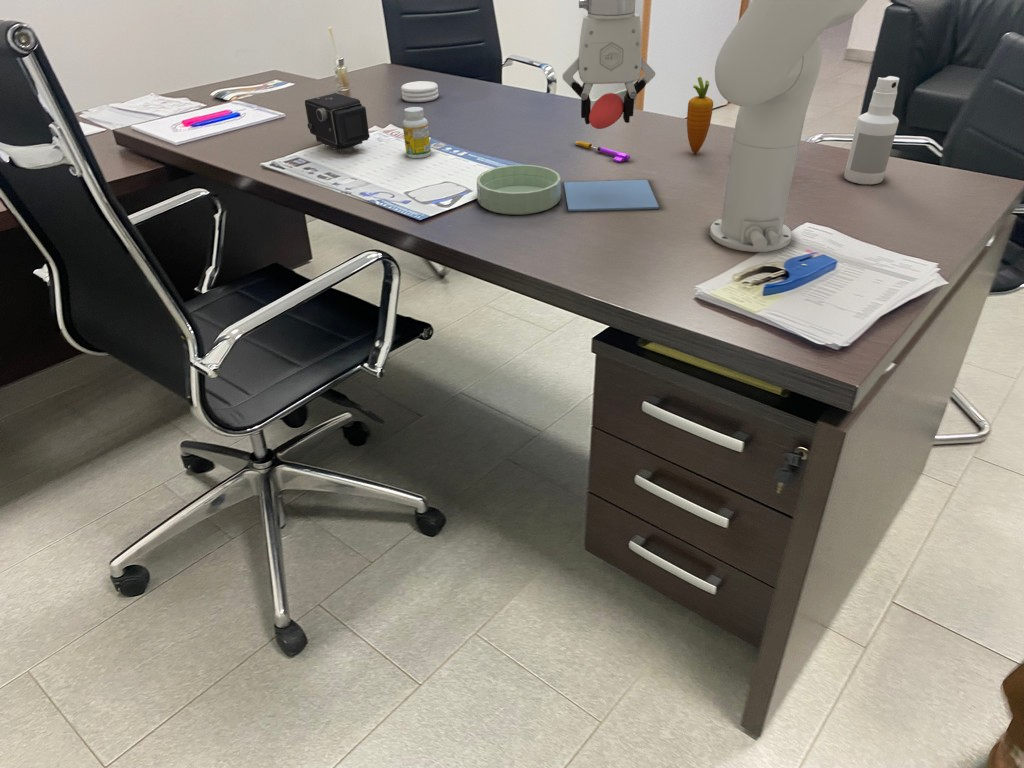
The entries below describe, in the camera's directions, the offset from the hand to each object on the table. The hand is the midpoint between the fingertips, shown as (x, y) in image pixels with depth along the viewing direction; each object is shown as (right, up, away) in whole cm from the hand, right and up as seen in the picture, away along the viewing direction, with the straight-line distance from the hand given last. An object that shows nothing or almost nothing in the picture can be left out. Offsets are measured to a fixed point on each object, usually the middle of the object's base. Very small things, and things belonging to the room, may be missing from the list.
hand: (606, 120), depth 125 cm
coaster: (-42, +33, +73) cm, 90 cm away
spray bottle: (+50, -7, +11) cm, 52 cm away
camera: (-55, +7, +37) cm, 67 cm away
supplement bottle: (-37, +4, +32) cm, 49 cm away
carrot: (+22, +2, +26) cm, 35 cm away
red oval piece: (0, -1, 0) cm, 1 cm away
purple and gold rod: (+2, +3, +29) cm, 29 cm away
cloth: (+2, -11, +8) cm, 14 cm away
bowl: (-15, -12, +8) cm, 21 cm away
